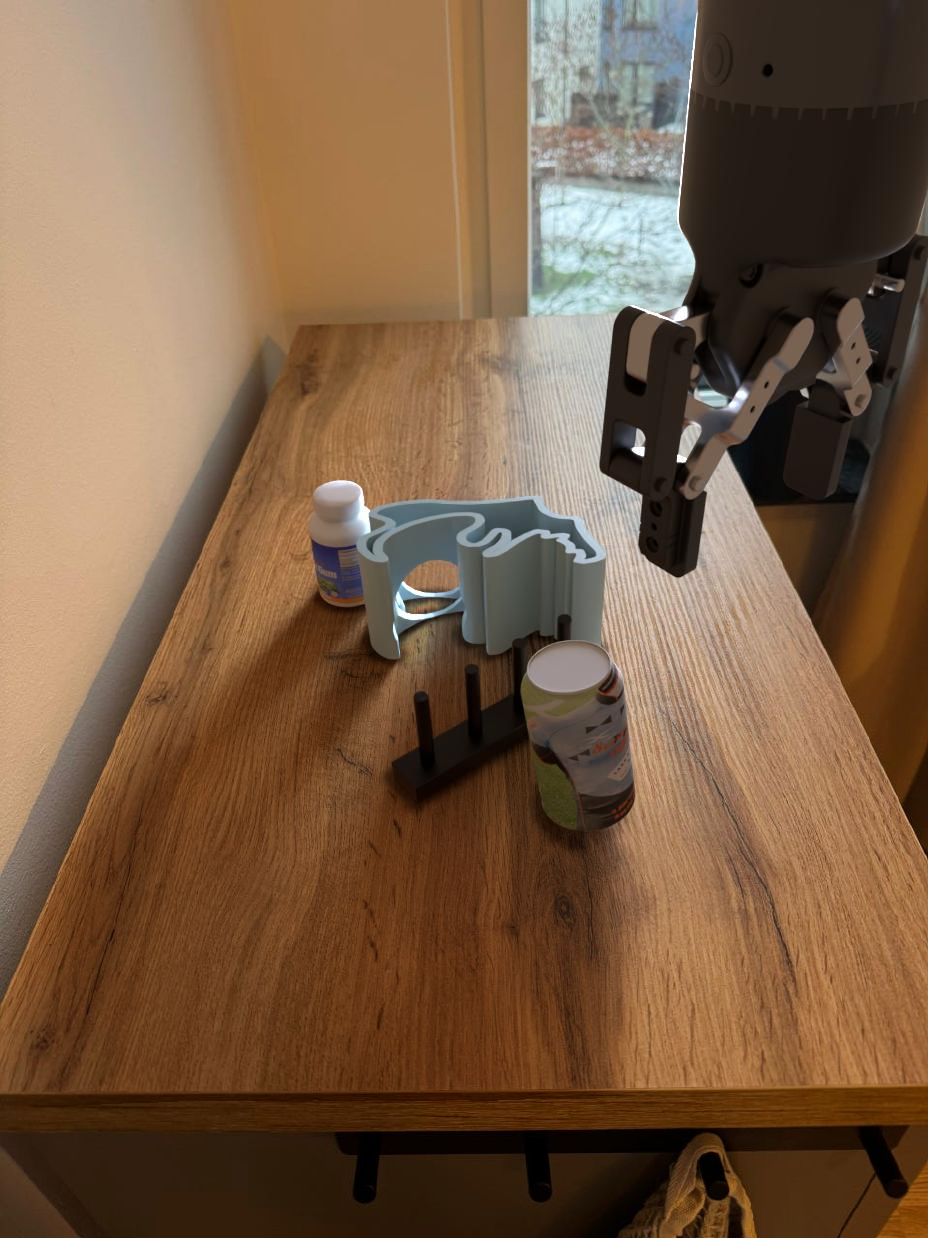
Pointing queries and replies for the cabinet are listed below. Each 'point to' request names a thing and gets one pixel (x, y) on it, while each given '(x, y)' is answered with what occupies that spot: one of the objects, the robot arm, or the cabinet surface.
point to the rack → (467, 729)
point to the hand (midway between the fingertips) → (741, 526)
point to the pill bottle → (338, 541)
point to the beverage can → (579, 735)
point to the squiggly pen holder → (483, 569)
